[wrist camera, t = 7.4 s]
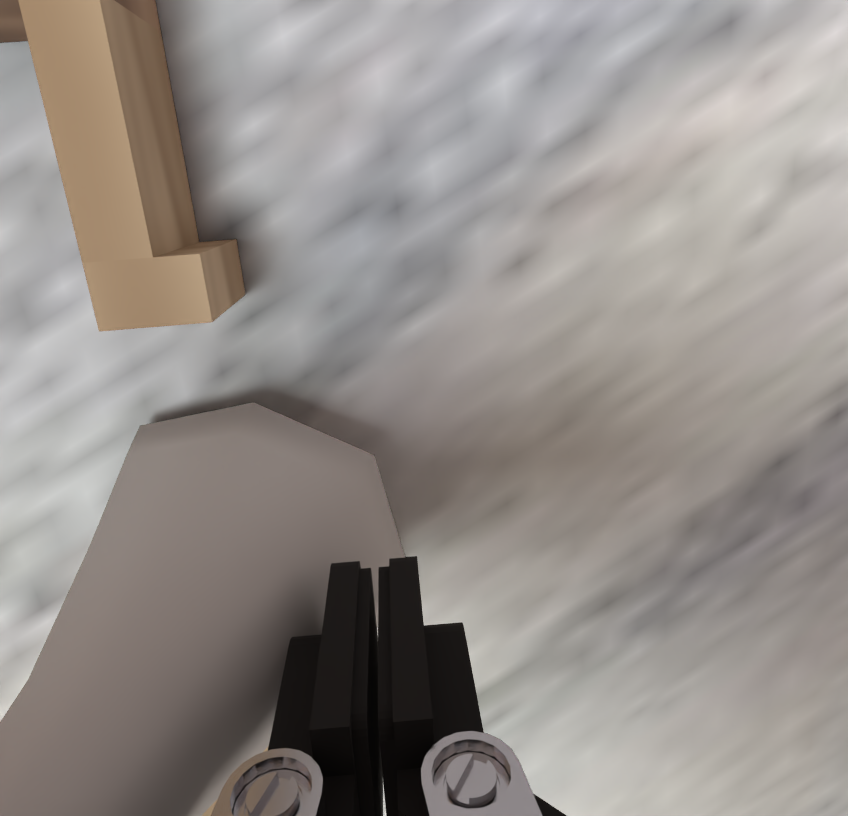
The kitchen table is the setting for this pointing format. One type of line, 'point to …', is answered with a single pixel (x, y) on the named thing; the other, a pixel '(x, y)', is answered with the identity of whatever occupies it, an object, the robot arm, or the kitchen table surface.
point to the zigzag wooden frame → (123, 163)
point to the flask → (189, 614)
